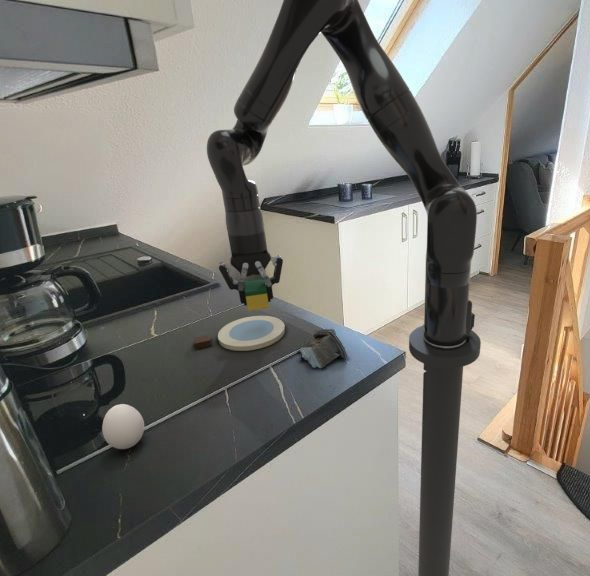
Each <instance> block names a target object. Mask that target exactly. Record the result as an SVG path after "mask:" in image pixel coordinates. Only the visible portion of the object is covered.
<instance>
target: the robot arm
mask: <svg viewBox="0 0 590 576" xmlns="http://www.w3.org/2000/svg"><path fill="white" fill-rule="evenodd" d="M366 17H367V16H366V15H365V13H364V11H363V9H362V7H361V4H360V2H359V0H283V1H282V4H281V6H280V9H279V12H278V14H277V18H276V20H275V23H274V25H273V28H272V30H271V32H270V35H269V38H268V40H267V42H266V44H265V47H264V49H263V50H262V53H261V56H260V57H259V59H258V62H257V63H256V66H255V67H254V69H253V71H252V73H251V75H250V76H249V78H248V80H247V82H246V83H245V85H244V87H243V89H242V90H241V92H240V94H239V96H238V97H237V99H236V102H235V104H234V106H233V113H234V114H233V115H234V116H235V118H236V119H237V120H236V122H235V124H234V126H233V127H232V128H229V129H218V130H215V131H212V132H211V134H210V135H209V136H208V138H207V142H206V156H207V159H208V162H209V166H210V167H211V170H212V172H213V175H214V177H215V179H216V182H217V183H218V186H219V187H220V190H221V195H222V200H223V206H224V212H225V226H226V231H227V236H228V237H227V238H228V242H229V248H230V253H231V256H230V260H228V261H226V262H223V261H221V262H219V264H218V270H219V272H220V274H221V275H222V277H223V279H224V281H225V283H226V285H227V287H228V289H229V290H232V291H233V290H236V291H238V296H239V303H241V304H244V306H246V307H247V301H246V295H245V287H244V286H245V281H247V277H251V276H253V275H254V276H259V275H260V277H261V279H263V280H264V282H265V286H266V290H267V297H268V303H272V302H271V301H272V300H273V299H274V292H273V285H276V284H279V283H280V280H281V274H282V269H283V263H284V259H283V257H282V256H281V255H277V256H276V255H271V254H270V252H269V251H268V244H267V238H266V232H265V230H266V229H265V223H264V218H263V213H262V209H261V205H260V204H261V203H260V198H259V190H258V186H257V184H256V182H255V181H254V180H253V179H250V178H248V177H247V175H246V172H245V169H244V166H248V165H250V164H251V163H253V162H254V161H255V160H256V158H258V156H259V154H260V152H261V151H262V148H263V146H264V143H265V141H266V138H267V135H268V130H269V128H270V126H271V125H272V123H273V122H274V120H275V119H276V117H277V115H278V114H279V112H280V110H281V109H282V107H283V106H284V104H285V102H286V100H287V98H288V96H289V93H290V91H291V89H292V85H293V82H294V80H295V76H296V74H297V71H298V68H299V65H300V64H301V61H302V60H303V58H304V56H305V54H306V53H307V51H308V49H309V48H310V46H311V45H312V44H313V42H314V41H315V40H316V38H317V37H318V36H319V35H320V34H321V35H322V36H323V37H324V39H326V41H327V42H328V44H329V45H330V47H331V48H332V49H333V51H334V53H335V54H336V56H337V58H338V59H339V60H340V62H341V64H342V65H343V67H344V69H345V72H346V74H347V76H348V79H349V82H350V84H351V85H350V86H351V87H352V90H353V93H354V95H355V98H356V101H357V103H358V105H359V108H360V110H361V112H362V114H363V115H364V117H365V119H366V120H367V123H368V124H369V126H370V127H371V129H372V130H373V132H374V134H375V135H376V137H377V138H378V140H379V142H380V144H382V146H383V147H384V149H386V151H387V152H388V154H389V155H390V156H391V157H392V158H393V160H394V161H395V162H396V163H397V164H398V165H399V166H400V168H401V169H402V170H403V172H404V173H405V174H406V175H407V176H408V178H409V179H410V181H411V183H412V185H413V187H414V189H415V190H416V192H417V195H418V197H419V199H420V200H421V202H422V205H423V207H424V210H425V212H426V217H427V219H426V220H427V222H426V223H427V225H426V250H425V251H426V252H425V271H424V275H425V276H424V313H423V314H424V317H423V323H422V326H423V328H424V334H423V340H424V342H425V343H426V344H427V345H429V346H431V347H433V348H436V349H441V350H453V349H457V348H460V347H462V346H463V345H464V344H465V343H466V342H469V341H470V332H471V330H472V331H473V328H474V327H475V318H476V317H475V316H476V314H475V313H474V312H472V311H473V302H472V301H471V300H470V299H469V298H470V285H471V284H470V283H471V272H472V271H471V269H472V268H471V267H472V261H473V257H474V253H475V244H476V233H477V224H478V223H477V222H478V210H477V206H476V203H475V200H474V199H473V198H472V196H471V195H470V194H469V193H468V192H467V190H466V189H465V188H464V187H463V186H462V184H460V182H459V181H458V180H457V179H456V177H455V176H454V174H453V173H452V171H451V170H450V168H449V166H448V165H447V164H446V162H445V161H444V159H443V157H442V155H441V153H440V151H439V149H438V146H437V144H436V141H435V138H434V135H433V133H432V131H431V129H430V126H429V123H428V121H427V119H426V117H425V115H424V112H423V111H422V109H421V106H420V105H419V104H418V102H417V100H416V98H415V96H414V95H413V92H412V90H410V87H409V86H408V84H407V83H406V81H405V79H404V78H403V76H402V74H401V73H400V72H399V69H397V67H396V66H395V64H394V62H393V61H392V59H391V58H390V57H389V55H388V54H387V52H386V51H385V50H384V48H383V47H382V46H381V43H379V41H378V40H377V38H376V36H375V34H374V32H373V30H372V28H371V26H370V23H369V22H368V20H367V18H366ZM271 262H272V265H273V266H274V269H273V275H272V277H270V276H269V274H268V272H267V270H266V268H267V267H268V266H269V263H271ZM231 267H233V268H234V269H235V270H236V271H238V272H239V274H238V282H237V281H234V279H233V277H232V274H231V273H230V272H232V271H231V270H232V269H231Z"/></svg>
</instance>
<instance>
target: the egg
mask: <svg viewBox="0 0 590 576" xmlns="http://www.w3.org/2000/svg"><path fill="white" fill-rule="evenodd" d="M101 430H102V435H103V438H104V440H105V442H106V443H107V444H108V445H109V446H111V447H112V448H114V449H116V450H117V449H118V450H127V449H130V448H132V447H134V446H136V445H137V444H138V443H139V442H140V440H141V439H142V438H143V435H144V432H145V422H144V418H143V416H142V414H141V413H140V411H138V410H137V408H135V407H133V406H131V405H129V404H125V403H120V404H116V405H114V406H112V407H111V408H109V409H108V410H107V412H106V413H105V415H104V418H103V422H102V425H101Z"/></svg>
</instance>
